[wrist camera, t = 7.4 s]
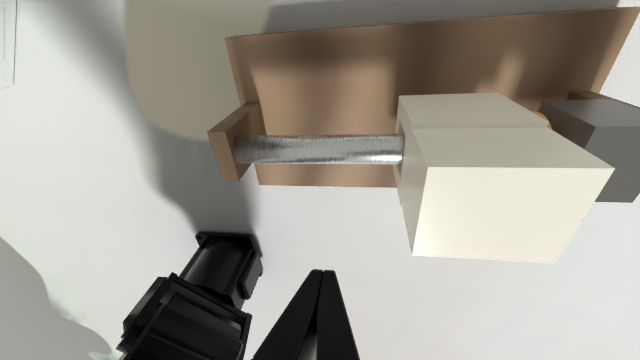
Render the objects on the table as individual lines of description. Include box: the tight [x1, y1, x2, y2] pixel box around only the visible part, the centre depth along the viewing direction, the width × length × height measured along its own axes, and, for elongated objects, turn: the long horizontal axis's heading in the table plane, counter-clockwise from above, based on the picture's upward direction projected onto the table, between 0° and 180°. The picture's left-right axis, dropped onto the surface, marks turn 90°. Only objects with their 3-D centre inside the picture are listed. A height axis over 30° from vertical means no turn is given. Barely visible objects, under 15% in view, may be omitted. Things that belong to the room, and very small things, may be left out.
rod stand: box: [207, 7, 640, 203], centre depth 15 cm, size 22×11×8 cm, turn 94°
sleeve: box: [393, 92, 615, 263], centre depth 12 cm, size 5×4×8 cm
